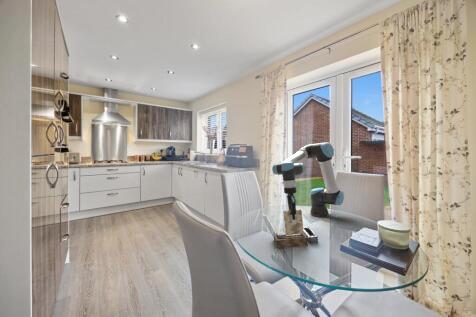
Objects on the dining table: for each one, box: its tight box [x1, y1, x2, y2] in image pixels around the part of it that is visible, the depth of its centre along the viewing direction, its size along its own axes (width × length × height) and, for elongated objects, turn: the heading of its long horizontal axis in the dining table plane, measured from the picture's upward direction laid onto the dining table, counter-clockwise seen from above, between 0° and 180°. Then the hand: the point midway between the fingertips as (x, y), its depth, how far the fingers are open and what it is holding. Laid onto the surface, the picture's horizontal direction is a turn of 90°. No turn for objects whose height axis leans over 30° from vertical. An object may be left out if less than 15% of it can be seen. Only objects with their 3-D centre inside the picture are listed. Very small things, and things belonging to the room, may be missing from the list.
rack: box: [272, 231, 309, 249], centre depth 127 cm, size 19×12×5 cm, turn 88°
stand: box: [303, 226, 319, 244], centre depth 131 cm, size 16×5×4 cm, turn 178°
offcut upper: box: [275, 230, 287, 238], centre depth 129 cm, size 5×5×3 cm
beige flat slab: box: [282, 208, 304, 236], centre depth 124 cm, size 11×2×15 cm, turn 88°
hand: (293, 223), depth 124 cm, fingers closed on beige flat slab, 2 cm apart
